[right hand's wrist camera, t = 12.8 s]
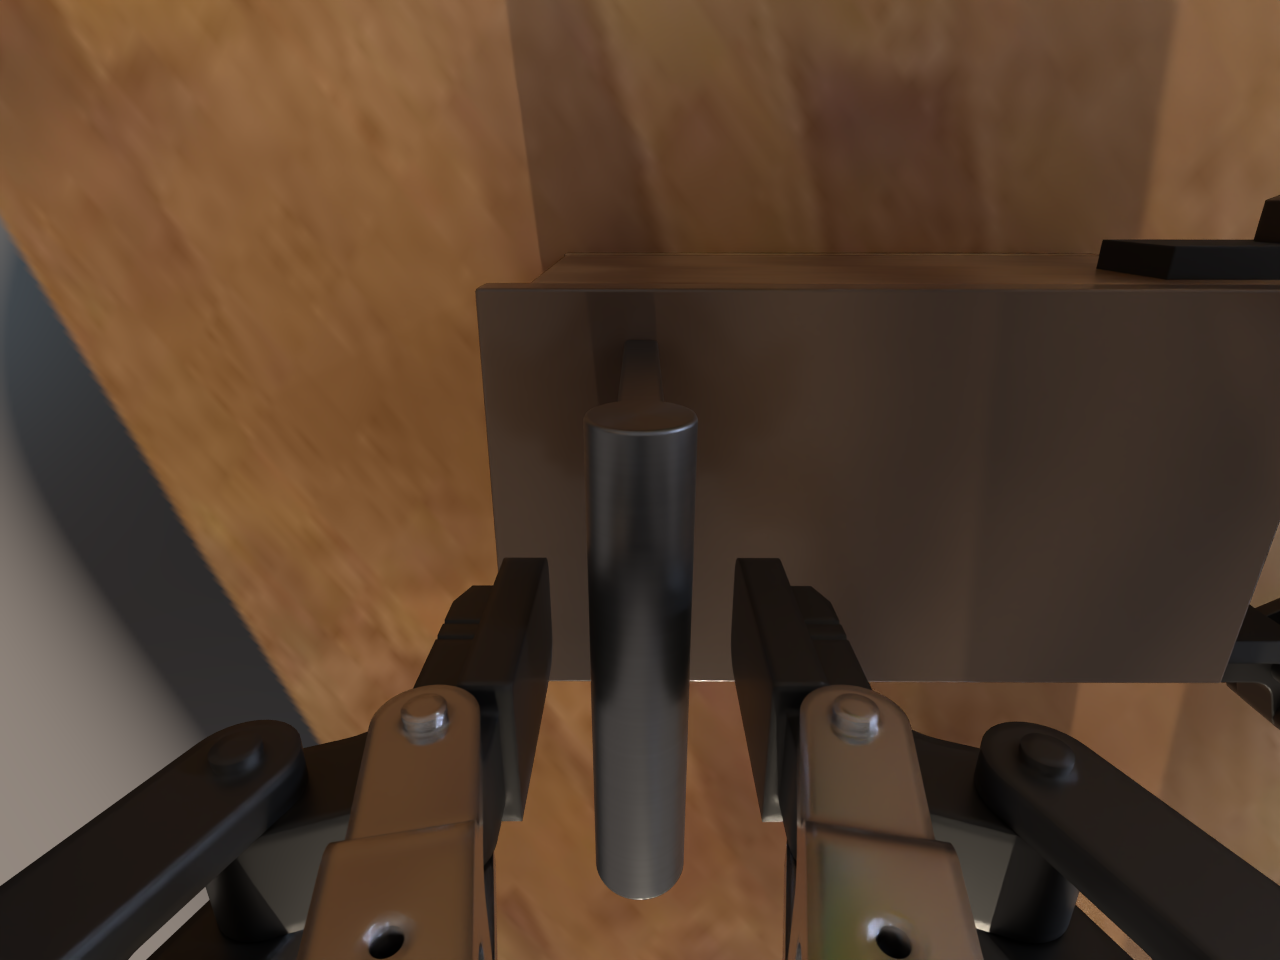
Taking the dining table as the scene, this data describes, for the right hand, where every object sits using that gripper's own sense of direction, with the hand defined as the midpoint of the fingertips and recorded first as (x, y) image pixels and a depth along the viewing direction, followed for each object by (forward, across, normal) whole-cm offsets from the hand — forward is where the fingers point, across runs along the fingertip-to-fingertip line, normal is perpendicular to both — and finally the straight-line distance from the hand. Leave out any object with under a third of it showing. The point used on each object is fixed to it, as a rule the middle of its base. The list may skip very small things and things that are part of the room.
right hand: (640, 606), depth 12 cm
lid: (+5, -6, 0) cm, 8 cm away
